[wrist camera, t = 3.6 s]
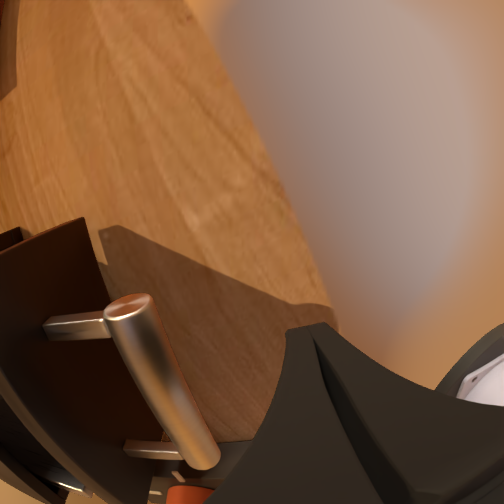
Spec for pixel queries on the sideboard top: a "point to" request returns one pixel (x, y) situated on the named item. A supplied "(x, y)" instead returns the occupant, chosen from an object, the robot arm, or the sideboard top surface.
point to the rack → (89, 375)
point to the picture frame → (1, 8)
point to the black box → (3, 461)
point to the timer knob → (187, 494)
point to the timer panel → (194, 472)
